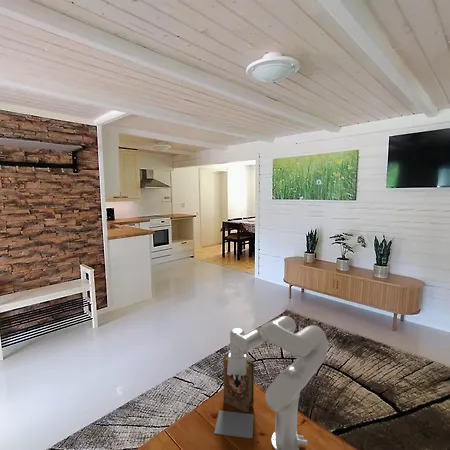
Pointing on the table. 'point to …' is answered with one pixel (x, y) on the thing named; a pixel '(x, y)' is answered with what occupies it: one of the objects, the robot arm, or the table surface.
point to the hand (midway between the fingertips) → (237, 385)
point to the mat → (234, 424)
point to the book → (244, 393)
